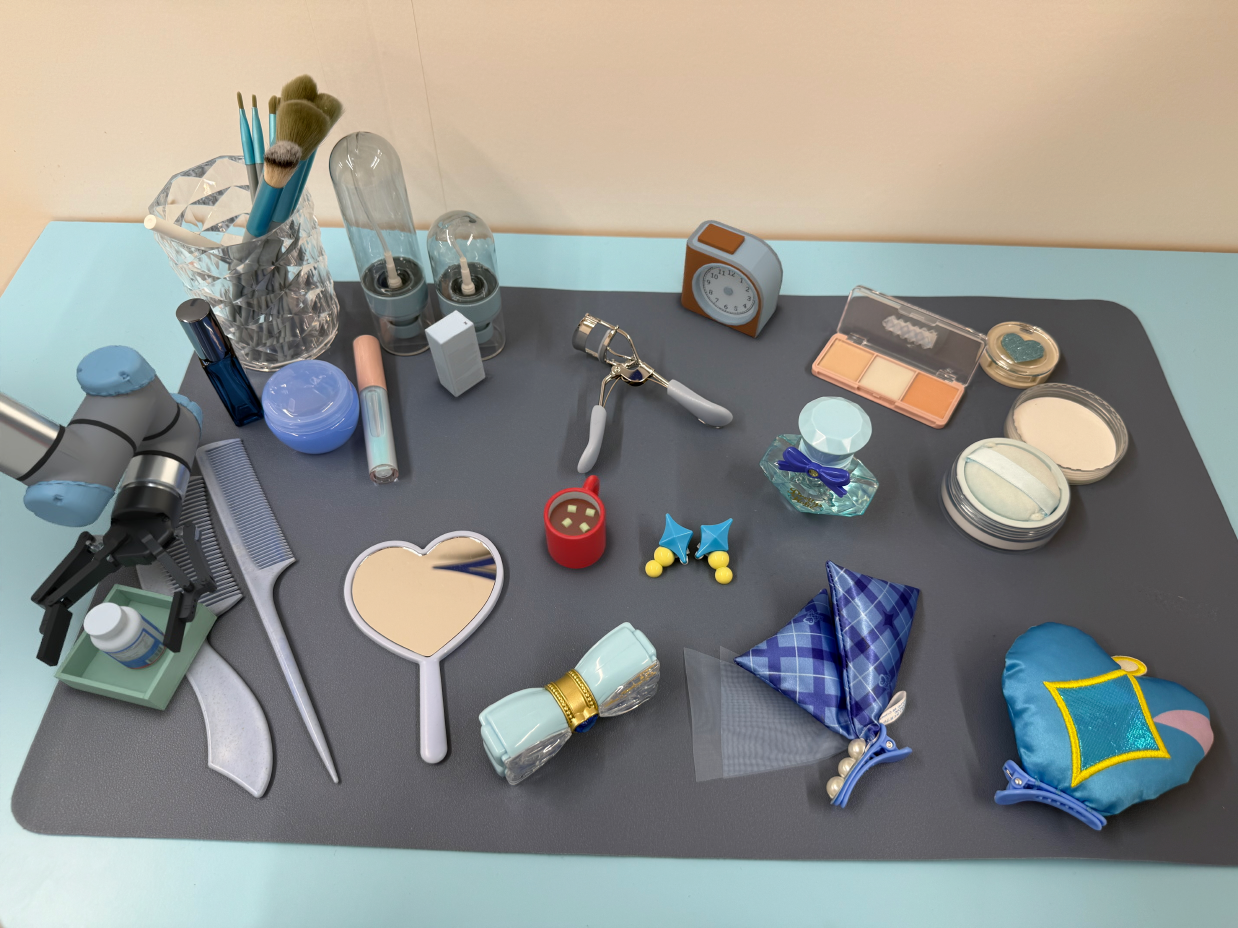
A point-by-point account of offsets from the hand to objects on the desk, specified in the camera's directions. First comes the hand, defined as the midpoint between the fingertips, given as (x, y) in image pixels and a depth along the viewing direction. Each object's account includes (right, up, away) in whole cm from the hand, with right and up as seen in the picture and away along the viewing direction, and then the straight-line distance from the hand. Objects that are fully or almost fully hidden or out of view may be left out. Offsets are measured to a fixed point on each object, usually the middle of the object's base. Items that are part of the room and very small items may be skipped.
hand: (109, 655), depth 88 cm
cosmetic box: (+33, +35, +34) cm, 59 cm away
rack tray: (0, -2, +8) cm, 8 cm away
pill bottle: (0, -1, +7) cm, 8 cm away
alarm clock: (+76, +48, +44) cm, 100 cm away
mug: (+53, +13, +18) cm, 57 cm away
